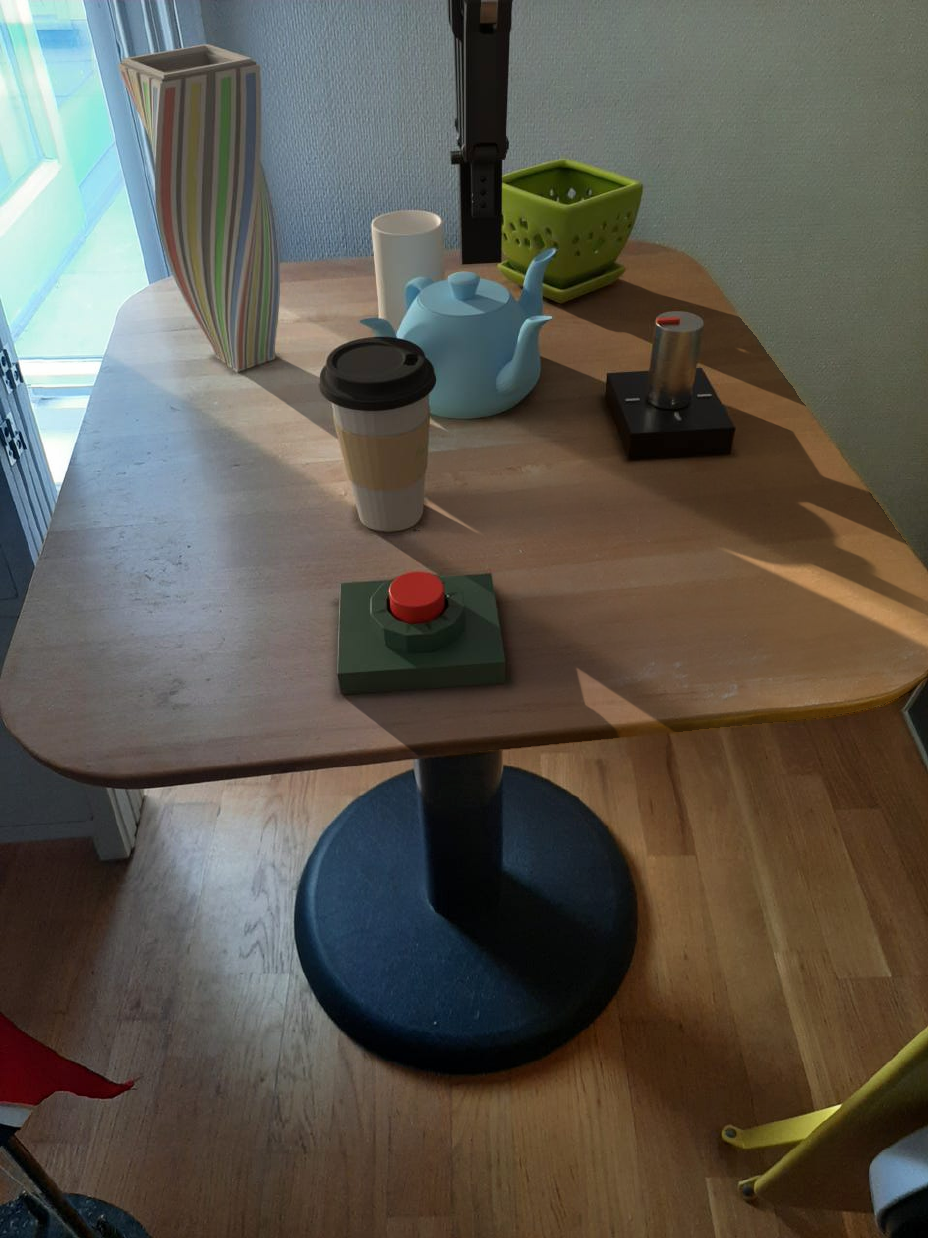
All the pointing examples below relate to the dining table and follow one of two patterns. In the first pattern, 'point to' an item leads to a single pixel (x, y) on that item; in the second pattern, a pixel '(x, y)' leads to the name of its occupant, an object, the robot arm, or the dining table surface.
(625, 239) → the flower pot
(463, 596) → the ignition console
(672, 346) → the stove knob
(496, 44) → the robot arm
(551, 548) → the dining table surface
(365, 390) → the coffee cup
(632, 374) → the panel
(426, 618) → the button
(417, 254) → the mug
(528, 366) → the teapot
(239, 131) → the vase
